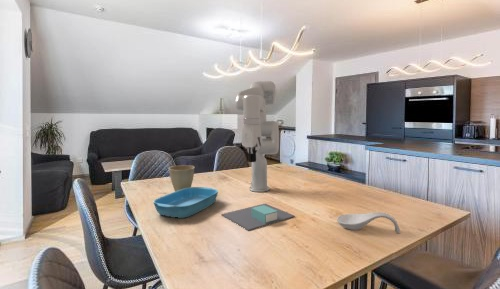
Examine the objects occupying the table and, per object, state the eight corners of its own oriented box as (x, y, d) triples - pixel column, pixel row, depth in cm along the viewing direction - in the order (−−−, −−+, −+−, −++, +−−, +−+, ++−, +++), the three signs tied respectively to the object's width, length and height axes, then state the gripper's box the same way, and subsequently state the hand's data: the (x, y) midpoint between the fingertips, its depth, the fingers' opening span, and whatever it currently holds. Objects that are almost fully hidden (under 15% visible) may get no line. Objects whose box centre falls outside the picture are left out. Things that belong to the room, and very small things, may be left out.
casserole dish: (191, 196, 167) (190, 184, 166) (225, 200, 158) (224, 187, 157) (144, 217, 133) (143, 202, 132) (183, 225, 124) (183, 209, 123)
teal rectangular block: (251, 208, 130) (265, 214, 122) (263, 205, 134) (277, 211, 126) (251, 216, 131) (265, 223, 122) (263, 213, 135) (277, 219, 126)
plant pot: (164, 196, 165) (163, 169, 163) (177, 189, 179) (176, 164, 178) (188, 198, 162) (187, 170, 160) (199, 191, 176) (198, 165, 174)
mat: (221, 215, 134) (221, 214, 134) (265, 204, 149) (265, 203, 149) (248, 231, 116) (248, 229, 116) (294, 217, 131) (294, 215, 131)
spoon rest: (336, 231, 116) (337, 214, 115) (336, 220, 127) (337, 205, 126) (402, 238, 109) (402, 220, 108) (396, 226, 120) (396, 210, 119)
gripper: (236, 122, 135) (236, 160, 137) (254, 122, 123) (255, 165, 125) (249, 121, 139) (249, 158, 141) (268, 122, 127) (268, 163, 129)
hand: (252, 161), depth 133 cm, fingers closed
